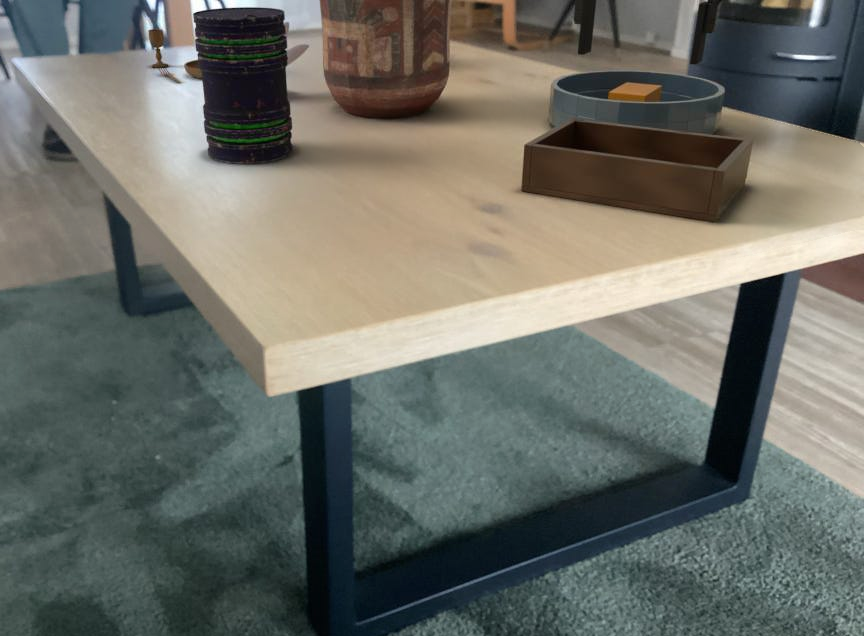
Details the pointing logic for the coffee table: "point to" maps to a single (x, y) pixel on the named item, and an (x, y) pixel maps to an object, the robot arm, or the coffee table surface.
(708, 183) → the box
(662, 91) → the bowl
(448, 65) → the pottery
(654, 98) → the block
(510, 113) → the coffee table surface
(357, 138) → the coffee table surface
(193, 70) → the place setting
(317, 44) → the coffee table surface
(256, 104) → the storage jar
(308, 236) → the coffee table surface
